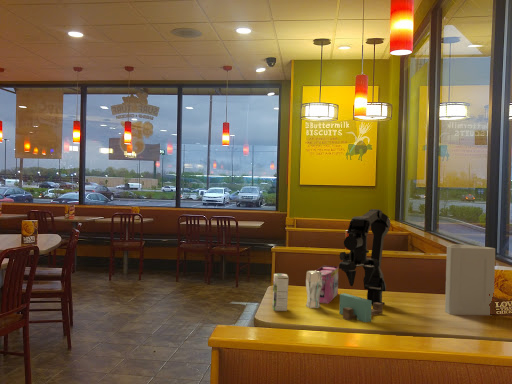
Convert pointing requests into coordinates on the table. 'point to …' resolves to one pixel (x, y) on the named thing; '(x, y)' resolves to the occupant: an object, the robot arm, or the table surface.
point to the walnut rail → (349, 315)
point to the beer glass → (313, 288)
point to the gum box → (328, 283)
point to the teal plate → (356, 306)
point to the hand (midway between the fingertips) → (359, 284)
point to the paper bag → (469, 279)
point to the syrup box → (280, 292)
